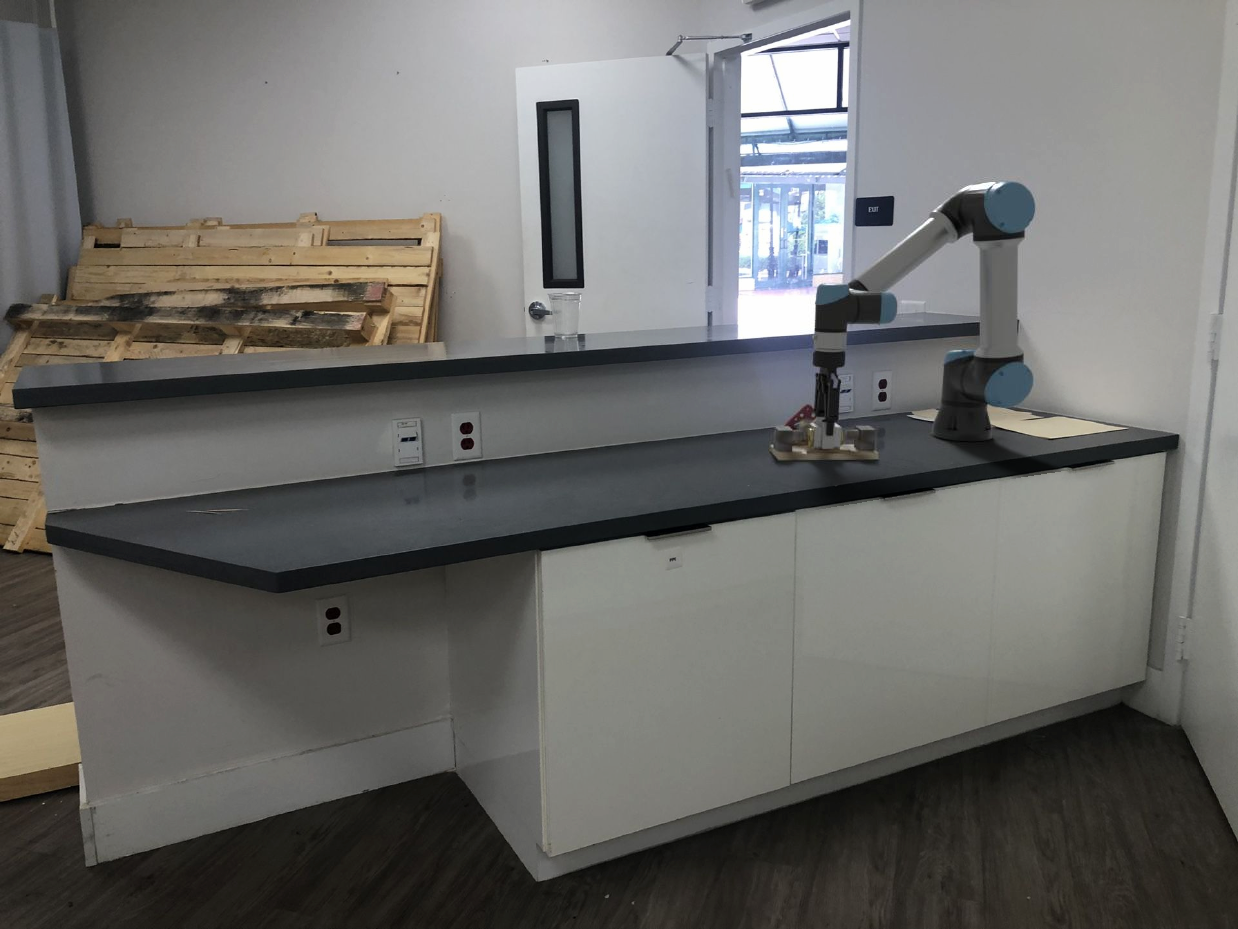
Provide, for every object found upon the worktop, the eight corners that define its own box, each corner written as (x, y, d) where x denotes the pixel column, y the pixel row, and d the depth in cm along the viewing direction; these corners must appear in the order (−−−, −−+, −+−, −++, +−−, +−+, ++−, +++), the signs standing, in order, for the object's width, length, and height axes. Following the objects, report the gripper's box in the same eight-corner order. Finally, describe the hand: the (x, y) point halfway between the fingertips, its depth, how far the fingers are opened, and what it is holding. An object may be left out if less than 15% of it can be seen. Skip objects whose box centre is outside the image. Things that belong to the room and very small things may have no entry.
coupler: (810, 451, 231) (811, 427, 230) (805, 447, 236) (806, 423, 235) (843, 451, 232) (844, 427, 230) (837, 447, 237) (838, 423, 235)
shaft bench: (865, 450, 240) (867, 423, 239) (878, 459, 231) (880, 431, 229) (769, 450, 239) (771, 424, 237) (778, 460, 229) (780, 432, 228)
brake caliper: (824, 432, 250) (830, 401, 240) (829, 465, 243) (835, 434, 233) (780, 432, 250) (784, 401, 241) (783, 465, 243) (788, 434, 234)
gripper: (803, 345, 237) (799, 438, 242) (824, 354, 219) (818, 454, 224) (834, 345, 238) (828, 438, 243) (856, 354, 220) (850, 453, 225)
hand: (824, 445), depth 234 cm, fingers open, 5 cm apart
